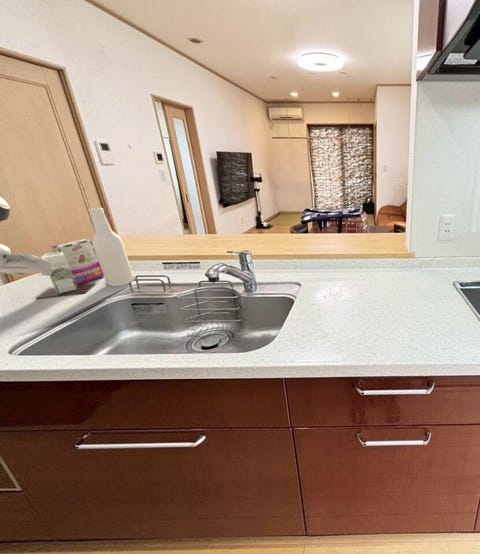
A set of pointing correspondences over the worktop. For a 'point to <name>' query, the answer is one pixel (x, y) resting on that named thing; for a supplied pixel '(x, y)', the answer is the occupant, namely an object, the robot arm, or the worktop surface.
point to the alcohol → (110, 251)
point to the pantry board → (52, 292)
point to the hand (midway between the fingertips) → (35, 273)
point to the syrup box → (60, 273)
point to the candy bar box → (81, 260)
